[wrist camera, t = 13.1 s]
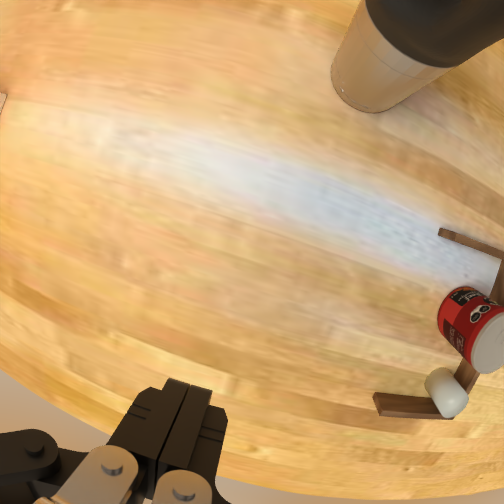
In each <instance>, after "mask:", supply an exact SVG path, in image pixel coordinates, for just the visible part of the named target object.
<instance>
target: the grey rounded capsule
mask: <svg viewBox="0 0 504 504" xmlns="http://www.w3.org/2000/svg"><path fill="white" fill-rule="evenodd" d="M425 389H426V390H427V392H428V393H429V395H430V397H431V398H432V400H433V401H434V403H435V405H436V406H437V408H438V410H439V411H440V413H441V414H442V416H443V417H445V418H451V417H454V416H456V415H458V414H459V413H460V412H461V411H462V410H463V409H464V408H465V407H466V405H467V403H468V400H469V397H468V394H467V393H466V392H465V391H464V389H463V388H462V387H461V385H460V384H459V383H458V382H457V380H456V379H455V378H454V377H453V375H452V374H451V373H450V372H449V370H448V369H447V368H438V369H435V370H434V371H432V372H431V373H430V374H429V375H428V377H427V378H426V380H425Z"/></svg>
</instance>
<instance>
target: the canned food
mask: <svg viewBox="0 0 504 504" xmlns="http://www.w3.org/2000/svg"><path fill="white" fill-rule="evenodd" d="M438 326H439V329H440V332H441V333H442V335H443V336H444V337H445V338H446V339H447V340H448V341H449V342H450V343H451V344H452V345H453V347H454V348H455V349H456V350H457V351H458V352H459V353H460V354H461V355H462V356H463V357H464V358H465V359H466V361H467V362H468V363H469V364H470V365H471V366H472V367H473V368H474V369H475V370H476V371H478V372H479V373H482V374H488V373H491V372H494V371H496V370H497V369H499V368H500V367H501V366H503V365H504V307H502V306H501V305H499V304H498V303H496V302H495V301H493V300H491V299H490V298H488V297H487V296H485V295H483V294H482V293H480V292H478V291H477V290H475V289H474V288H470V287H461V288H458V289H456V290H454V291H453V292H451V293H450V294H449V295H448V296H447V297H446V298H445V300H444V301H443V303H442V305H441V307H440V309H439V313H438Z"/></svg>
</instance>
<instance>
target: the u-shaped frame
mask: <svg viewBox="0 0 504 504" xmlns="http://www.w3.org/2000/svg"><path fill="white" fill-rule="evenodd" d="M438 235H439V236H442V237H444V238H447V239H450V240H452V241H455V242H458V243H460V244H463V245H466V246H469V247H471V248H474V249H476V250H479V251H482V252H484V253H487V254H489V255H492V256H495V257H497V258H500V259H502V262H501V265H500V268H499V271H498V274H497V277H496V280H495V283H494V286H493V289H492V292H491V294H490V297H489V298H490V299H491V300H493V301H495V302H496V303H498V304H499V305H501V306H502V307H504V252H503V251H500V250H498V249H496V248H493V247H491V246H488V245H486V244H483V243H481V242H478V241H476V240H473V239H471V238H468V237H466V236H463V235H460V234H458V233H455V232H452V231H449V230H446V229H443V228H440V229H439V232H438ZM479 375H480V373H479V372H478V371H476V370H475V369H474V368H473V367H472V366H471V365H470V364H469V363H468V362H467V361H466V359H465V358H464V357H463V359H462V361H461V363H460V365H459V367H458V369H457V371H456V373H455V375H454V378H455V379H456V380H457V382H458V383H459V384H460V385H461V387H462V388H463V389H464V391H465V392H466V393H467V394H469V393H470V391H471V389H472V387H473V386H474V384H475V382H476V380H477V378H478V377H479ZM373 400H374V403H375V405H376V408H377V410H378V413H379V416H387V417H399V418H415V419H442V420H453V419H454V417H455V416H454V417H451V418H445V417H443V416H442V414H441V413H440V411H439V410H438V408H437V406H436V405H435V403H434V401H433V400H432V398H425V397H413V396H403V395H394V394H386V393H378V392H375V393H374V395H373Z"/></svg>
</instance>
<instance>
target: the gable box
mask: <svg viewBox="0 0 504 504" xmlns="http://www.w3.org/2000/svg"><path fill="white" fill-rule="evenodd" d="M6 97H7V94H4V93H1V92H0V113H1V110H2V108H3V105H4V102H5V99H6Z"/></svg>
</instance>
